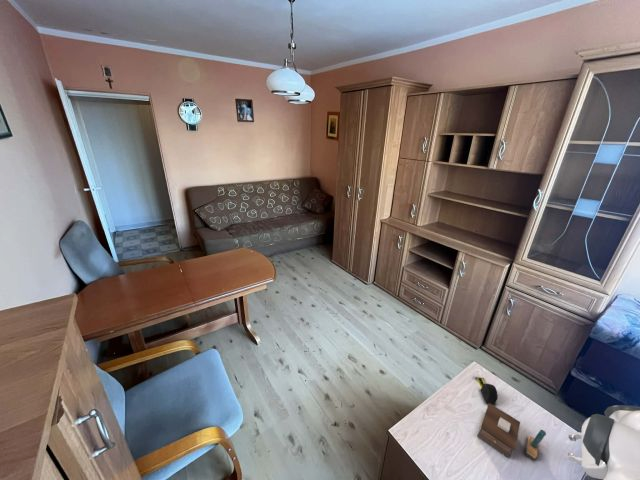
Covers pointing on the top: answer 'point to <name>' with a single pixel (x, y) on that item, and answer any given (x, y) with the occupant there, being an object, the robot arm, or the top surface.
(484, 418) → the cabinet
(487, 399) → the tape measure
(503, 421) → the felt pad
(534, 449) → the brush
